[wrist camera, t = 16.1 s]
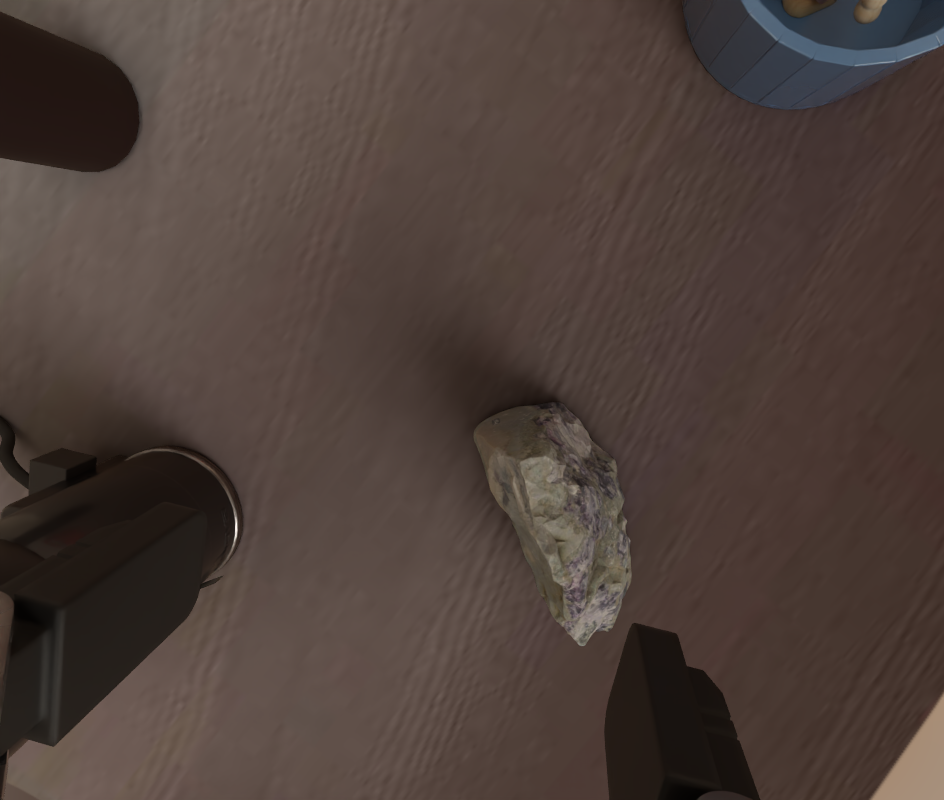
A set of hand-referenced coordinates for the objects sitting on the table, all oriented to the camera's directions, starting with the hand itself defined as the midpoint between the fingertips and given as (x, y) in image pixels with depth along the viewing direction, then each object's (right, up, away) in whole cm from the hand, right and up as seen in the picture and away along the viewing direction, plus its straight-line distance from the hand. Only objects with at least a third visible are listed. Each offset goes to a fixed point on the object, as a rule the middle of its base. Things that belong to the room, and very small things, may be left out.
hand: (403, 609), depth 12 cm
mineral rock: (+6, -2, +29) cm, 30 cm away
